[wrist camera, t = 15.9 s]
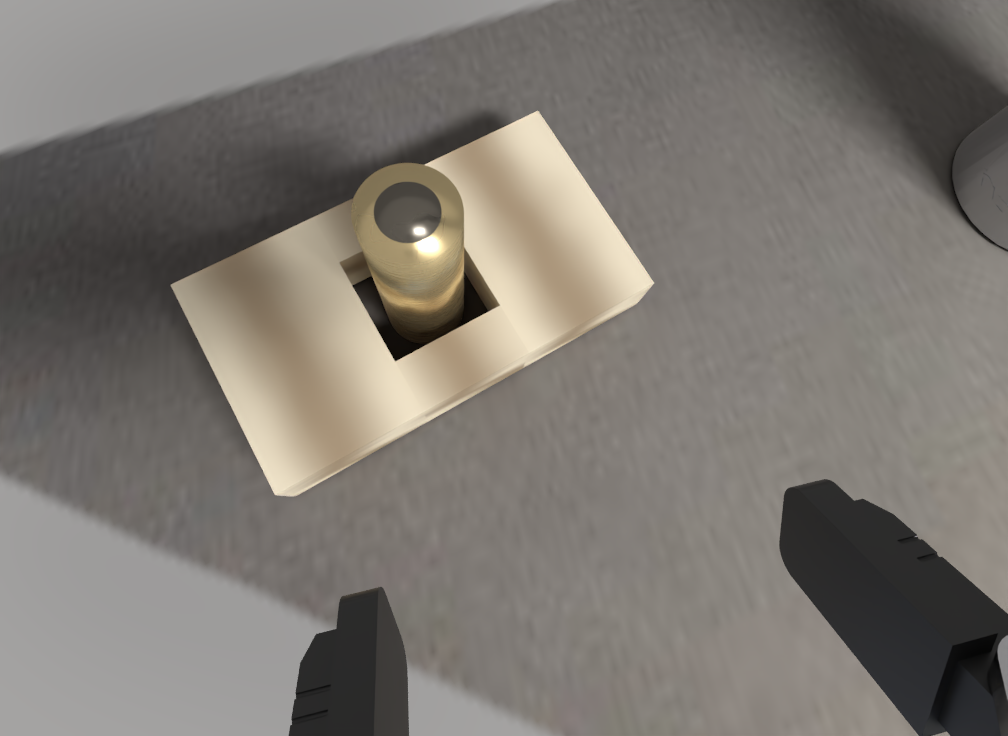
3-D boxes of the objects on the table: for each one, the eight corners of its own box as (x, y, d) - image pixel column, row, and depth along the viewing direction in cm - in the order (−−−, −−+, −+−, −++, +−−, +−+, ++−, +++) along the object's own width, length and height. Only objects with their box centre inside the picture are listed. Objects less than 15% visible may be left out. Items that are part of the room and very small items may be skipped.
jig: (531, 145, 33) (538, 110, 30) (636, 304, 31) (654, 283, 28) (199, 306, 29) (170, 284, 26) (295, 496, 27) (275, 495, 25)
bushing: (440, 259, 31) (429, 145, 21) (477, 321, 30) (484, 232, 20) (373, 293, 30) (331, 191, 20) (410, 357, 29) (384, 282, 20)
